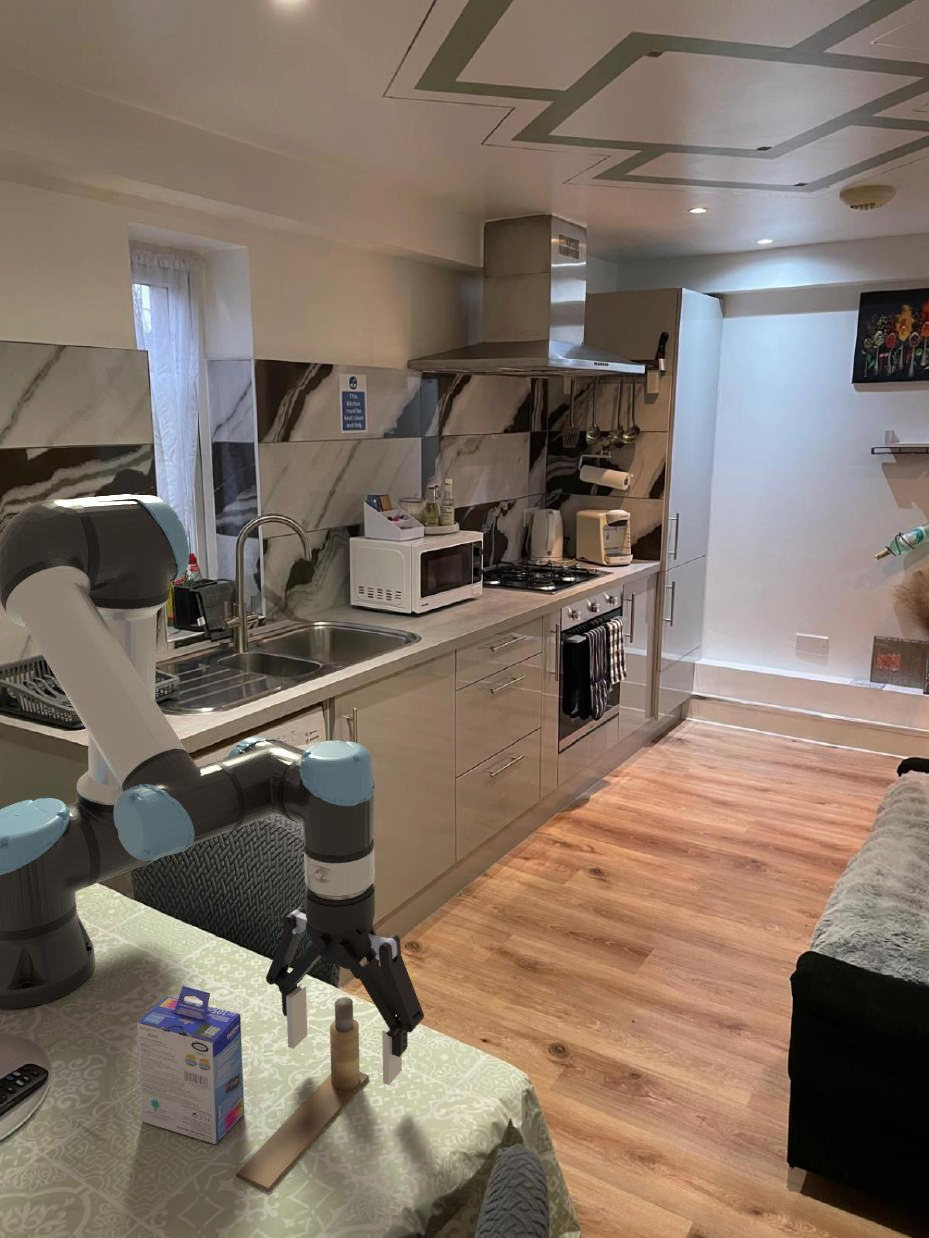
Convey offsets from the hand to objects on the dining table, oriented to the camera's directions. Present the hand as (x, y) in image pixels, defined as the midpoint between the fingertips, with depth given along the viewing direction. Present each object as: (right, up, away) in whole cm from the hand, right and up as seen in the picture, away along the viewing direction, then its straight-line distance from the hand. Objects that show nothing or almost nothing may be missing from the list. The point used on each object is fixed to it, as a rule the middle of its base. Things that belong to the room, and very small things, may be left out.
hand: (343, 1058), depth 105 cm
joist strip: (-3, -4, -5) cm, 8 cm away
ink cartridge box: (-16, -4, -4) cm, 17 cm away
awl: (0, -3, 0) cm, 3 cm away
